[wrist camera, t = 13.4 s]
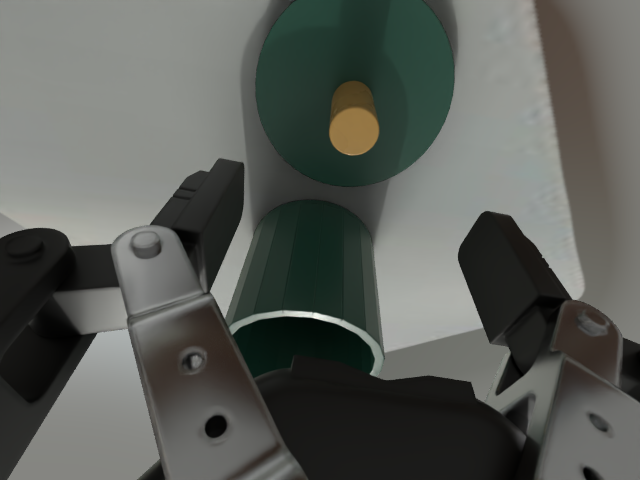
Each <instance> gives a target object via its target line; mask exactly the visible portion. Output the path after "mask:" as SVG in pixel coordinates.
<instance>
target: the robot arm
mask: <svg viewBox="0 0 640 480" xmlns="http://www.w3.org/2000/svg"><path fill="white" fill-rule="evenodd" d="M243 205H244V164H243V163H242V162H237V161H232V160H226V159H221V158H219V159H218V160H217V161H216V163H215V164H214V166H213V167H212V169H211V170H210V172H206V171H201V170H200V171H198V172H196V173H194V174H192V175H190V176H189V177H187V178H186V179H185V180H184V182H183V183H182V184H181V185H180V187H179V189H177V191H176V192H175V193H174V194H173V197H171V198H170V199H169V201H168V202H167V203H166V205H165V206H164V207H163V208H162V210H161V211H160V212H159V213H158V215H157V216H156V217H155V219H154V220H153V221H152V222H151V224H150V225H147V226H140V227H136V228H133V229H130V230H128V231H126V232H124V233H122V234H121V235H119V236H118V237H117V238H116V239H115V240H114V242H113V244H107V245H89V246H71V244H70V242H69V240H68V238H67V236H66V235H65V234H64V233H62V232H60V231H58V230H55V229H49V228H33V229H26V230H22V231H17V232H14V233H11V234H9V235H6V236H4V237H2V238H0V480H7V479H8V478H9V476H10V474H11V473H12V471H13V469H14V468H15V466H16V465H17V463H18V461H19V459H20V458H21V456H22V455H23V453H24V452H25V450H26V448H27V447H28V445H29V443H30V442H31V440H32V438H33V437H34V435H35V434H36V432H37V430H38V429H39V427H40V426H41V424H42V422H43V421H44V419H45V417H46V416H47V414H48V413H49V411H50V409H51V408H52V406H53V404H54V403H55V401H56V400H57V398H58V396H59V395H60V393H61V391H62V390H63V388H64V387H65V385H66V383H67V381H68V380H69V378H70V376H71V375H72V374H73V372H74V370H75V369H76V367H77V365H78V364H79V362H80V360H81V359H82V357H83V356H84V354H85V352H86V351H87V349H88V348H89V346H90V344H91V343H92V341H93V339H94V338H95V336H96V334H97V333H99V332H107V331H114V330H122V329H128V331H129V335H130V339H131V343H132V347H133V351H134V355H135V359H136V363H137V367H138V371H139V375H140V379H141V383H142V387H143V391H144V395H145V399H146V403H147V407H148V411H149V415H150V419H151V423H152V427H153V431H154V435H155V439H156V443H157V447H158V451H159V455H160V459H159V460H158V461H157V462H156V463H155V464H154V465H153V466H152V467H151V468H150V469H148V470H147V471H146V472H145V473H144V474H143V475H142V476H141V477H140V478H139V479H137V480H640V344H637V343H635V342H633V341H630V340H628V339H625V338H623V337H622V334H621V332H620V330H619V329H618V327H617V326H616V325H615V324H614V323H613V321H611V320H610V319H609V318H608V317H607V316H606V315H605V314H603V313H602V312H601V311H599V310H598V309H596V308H594V307H592V306H591V305H589V304H586V303H584V302H581V301H577V300H572V298H571V297H570V295H569V294H568V292H567V291H566V289H565V288H564V287H563V285H562V284H561V282H560V281H559V279H558V278H557V276H556V275H555V274H554V272H553V271H552V269H551V268H549V265H548V263H547V262H546V260H545V259H544V258H542V255H541V253H540V252H539V250H538V249H537V247H536V246H535V245H534V243H532V242H531V241H530V240H529V239H528V238H527V237H526V236H524V234H523V233H522V231H521V230H520V229H519V227H518V226H517V224H516V223H515V221H514V220H513V218H512V217H511V216H509V215H505V214H500V213H495V212H490V211H485V212H483V213H482V214H481V215H480V216H479V218H478V219H477V221H476V222H475V224H474V225H473V227H472V228H471V230H470V232H469V233H468V235H467V236H466V238H465V239H464V241H463V242H462V244H461V246H460V248H459V252H458V261H459V264H460V267H461V270H462V272H463V275H464V277H465V280H466V282H467V285H468V288H469V290H470V293H471V295H472V298H473V301H474V303H475V306H476V308H477V311H478V314H479V316H480V319H481V321H482V324H483V327H484V329H485V332H486V334H487V337H488V340H489V342H490V344H495V345H501V346H507V347H509V349H510V351H509V352H508V353H507V354H506V355H505V356H504V357H503V359H502V362H501V364H500V366H499V369H498V371H497V374H496V376H495V378H494V381H493V383H492V386H491V388H490V390H489V393H488V395H487V398H486V400H485V402H482V401H480V400H478V399H476V398H475V394H474V390H473V387H472V384H471V382H467V381H461V380H454V379H448V378H441V377H434V376H421V377H413V378H405V379H396V380H383V379H380V378H377V377H375V376H372V375H370V374H368V373H365V372H363V371H360V370H358V369H356V368H353V367H351V366H348V365H346V364H344V363H341V362H339V361H333V360H326V359H320V358H314V357H307V356H301V355H294V356H293V360H292V364H291V368H283V369H278V370H274V371H270V372H267V373H265V374H262V375H260V376H258V377H256V378H254V379H253V377H252V375H251V373H250V371H249V369H248V367H247V364H246V362H245V360H244V358H243V356H242V354H241V352H240V350H239V348H238V346H237V344H236V342H235V340H234V338H233V335H232V333H231V331H230V329H229V327H228V325H227V323H226V321H225V319H224V317H223V315H222V313H221V311H220V308H219V306H218V304H217V302H216V300H215V298H214V297H213V295H212V294H211V293H210V290H211V287H212V285H213V283H214V281H215V278H216V276H217V274H218V271H219V269H220V267H221V264H222V262H223V260H224V257H225V255H226V253H227V250H228V248H229V246H230V244H231V241H232V239H233V237H234V234H235V232H236V230H237V227H238V225H239V223H240V220H241V217H242V212H243Z"/></svg>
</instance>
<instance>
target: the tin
mask: <svg viewBox="0 0 640 480" xmlns="http://www.w3.org/2000/svg"><path fill="white" fill-rule="evenodd" d="M225 321H226V323H227V325H228V327H229V329H230V331H231V333H232V335H233V338H234V340H235V342H236V344H237V346H238V348H239V350H240V352H241V354H242V356H243V358H244V360H245V362H246V364H247V367H248V369H249V371H250V373H251V375H252V377H253V379H254V378H256V377H258V376H260V375H262V374H265V373H267V372H270V371H274V370H278V369H283V368H291V364H292V360H293V356H294V355H301V356H307V357H314V358H320V359H326V360H333V361H339V362H341V363H344V364H346V365H348V366H351V367H353V368H356V369H358V370H360V371H363V372H365V373H368V374H370V375H372V376H375V377H376V376H377V375H378V374H379V373H380V372H381V370H382V366H383V363H384V360H385V356H384V347H383V337H382V328H381V318H380V308H379V299H378V289H377V280H376V270H375V261H374V251H373V246H372V240H371V236H370V234H369V232H368V230H367V228H366V226H365V225H364V224H363V223H362V221H361V220H360V219H359V218H358V217H357V216H355V215H354V214H353V213H351V212H350V211H348V210H347V209H345V208H343V207H341V206H338V205H336V204H333V203H329V202H325V201H318V200H300V201H294V202H289V203H286V204H284V205H281V206H279V207H277V208H275V209H274V210H272V211H271V212H269V213H268V214H267V215H266V216H265V217H264V218H263V219H262V220H261V222H260V223H259V225H258V227H257V228H256V230H255V233H254V236H253V239H252V242H251V245H250V248H249V251H248V254H247V256H246V259H245V262H244V265H243V268H242V271H241V274H240V277H239V280H238V283H237V286H236V289H235V292H234V295H233V297H232V300H231V303H230V306H229V309H228V312H227V315H226V318H225Z"/></svg>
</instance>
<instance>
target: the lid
mask: <svg viewBox="0 0 640 480" xmlns="http://www.w3.org/2000/svg"><path fill="white" fill-rule="evenodd" d="M255 86H256V101H257V108H258V112H259V116H260V119H261V123H262V125H263V127H264V130H265V132H266V134H267V136H268V138H269V140H270V141H271V143H272V145H273V146H274V147H275V149H276V150H277V152H278V153H279V154H280V155H281V156H282V157H283V158H284V159H285V161H287V162H288V163H289V164H290V165H291V166H292V167H294V168H295V169H296V170H298V171H299V172H301V173H302V174H304V175H306V176H308V177H310V178H312V179H314V180H317V181H319V182H322V183H326V184H330V185H335V186H343V187H355V186H365V185H369V184H374V183H377V182H380V181H383V180H386V179H388V178H390V177H393V176H395V175H397V174H398V173H400V172H402V171H403V170H405V169H406V168H408V167H409V166H410V165H412V164H413V163H414V162H415V161H416V160H417V159H419V158H420V157H421V156H422V155H423V154H424V153H425V151H426V150H427V149H428V148H429V147H430V145H431V144H432V143H433V141H434V140H435V138H436V137H437V135H438V134H439V132H440V130H441V128H442V126H443V124H444V122H445V120H446V117H447V114H448V112H449V109H450V105H451V101H452V97H453V90H454V61H453V55H452V50H451V46H450V43H449V40H448V37H447V34H446V32H445V30H444V28H443V26H442V24H441V22H440V21H439V19H438V18H437V16H436V15H435V13H434V12H433V10H432V9H431V8H430V7H429V6H428V5H427V4H426V3H425V2H424V1H423V0H295V1H293V2H292V3H291V4H290V5H289V6H288V7H287V9H286V10H285V11H284V12H283V13H282V14H281V15H280V17H279V18H278V19H277V21H276V22H275V24H274V25H273V26H272V28H271V30H270V32H269V34H268V36H267V38H266V40H265V42H264V45H263V48H262V50H261V53H260V57H259V61H258V65H257V72H256V82H255Z"/></svg>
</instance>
